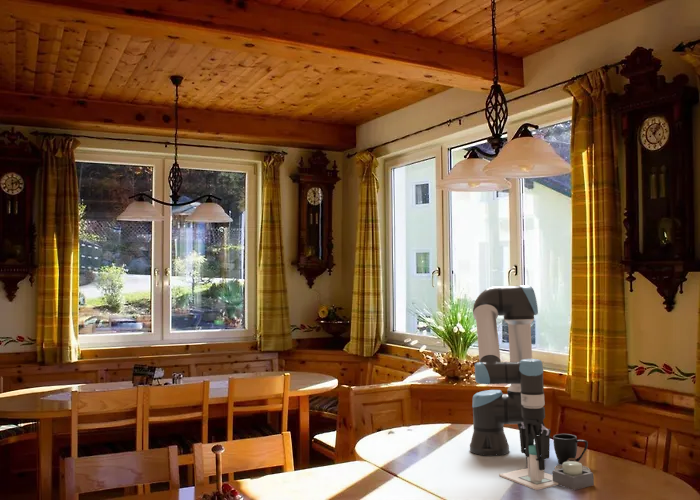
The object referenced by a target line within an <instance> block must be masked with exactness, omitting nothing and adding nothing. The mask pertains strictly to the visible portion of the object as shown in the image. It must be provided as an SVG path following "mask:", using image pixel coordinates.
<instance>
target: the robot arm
mask: <svg viewBox="0 0 700 500" xmlns="http://www.w3.org/2000/svg"><path fill="white" fill-rule="evenodd" d="M538 314H539V308H538V301H537V296H536V293H535V290H534V288H533V287H532V286H530V285H521V284H520V285H504V286H503V285H502V286H501V285H500V286H498V285H497V286H496V285H495V286H490V287H488V288H486V289H483V291H481V293H480V294H479V295H478V296H477V298H476V300H475V301H474V304H473V308H472V315H473V318H474V320H475V321H476V322H475V323H476V332H477V333H476V334H477V346H478V359H479V362H475V363H474V381H475V383H477V384H479V385H495V384H496V385H503V384H504V385H510V386H508V388H507V389H506V391H507V393H503V392H502V390H501V389H489V390H487V389H486V390H482V391H479V392H478V391H477V392H476V393H475V394H473V396H472V406H471V408H472V420H473V423H472V424H473V426H472V427H473V432H472V437H471V442H470V444H469V451H470V452H471V453H472V454H474V453H475V454H474V455H479V456H489V457H493V456H495V457H496V456H502V455H507V454H509V453H510V446H509V445H510V444H509V443H508V439H507V437H506V434H505V432H504V425H517V428H518V431H519V441H520V452H521V453H522V454H524V455H525V458H526V466H527V468H528V477H530V458H529V445H533V444H535V446H536V453H537V459H536V480H542V479H544V472H545V468H546V465H545V464H546V463H545V461H546V460H547V459H550V444H551V443H550V440H551V439H550V437H551V433H552V430H551V428H547V427H546V425H545V422H544V419H545V418H546V409H545V407H544V406H545V405H546V404H545V403H546V402H545V391H544V368H543V367H544V366H543V361H542V360H541V359H537V358H533V350H532V331H531V330H532V329H531V325H532V322H533V321H534V320H535V316H536V315H538ZM499 316H503V321H504V322H505V323H506V324H507V326H508V327H507V330H508V346H509V351H508V352H509V361H501V359H502V358H501V353H500V352H501V351H500V343H499V335H498V333H499V332H498V325H497V319H498V317H499Z"/></svg>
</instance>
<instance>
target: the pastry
mask: <svg viewBox="0 0 700 500" xmlns="http://www.w3.org/2000/svg"><path fill="white" fill-rule="evenodd" d="M576 459H577V457H576V458H569V459H568V461H573V462H578V461H575V460H576ZM568 461H567V462H568ZM562 468H563V464H558V465H555V466H554V470H557V469H562ZM582 469H583V470H586V471H589V472H591V469H590V468H589V467H588V466H586V465H582Z"/></svg>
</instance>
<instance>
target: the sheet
mask: <svg viewBox="0 0 700 500" xmlns="http://www.w3.org/2000/svg"><path fill="white" fill-rule="evenodd" d="M498 476H499V477H501V478H504V479H506V480H508V481H509V480H510V481H512V482H514V483H516V484H519V485H522V486H525V487H526V488H530V489H534V490H535V491H538V490H542V489H547V488H552V487H555V486H559V485H558V483H557V482H554V481H553V475H552V474H550V473H547V472H545V471H544V479H542V482H540V483H534V482H531V478H530V477H528V467H526V468H521V469H517V470H512V471H508V472H503V473H499V474H498Z"/></svg>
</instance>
